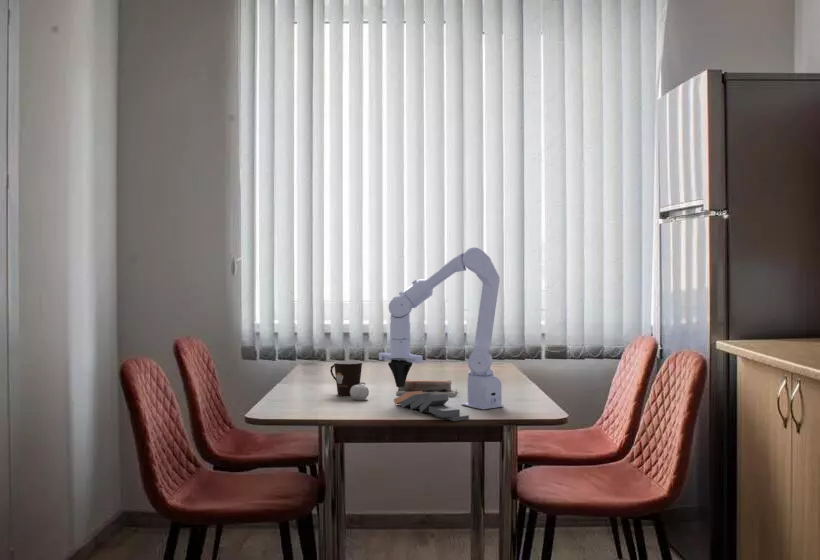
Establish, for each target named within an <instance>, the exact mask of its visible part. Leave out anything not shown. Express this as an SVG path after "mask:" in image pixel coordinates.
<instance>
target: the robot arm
mask: <svg viewBox="0 0 820 560" xmlns="http://www.w3.org/2000/svg"><path fill="white" fill-rule="evenodd" d="M467 269H468V270H470V272H472V273H474V274H475V275H476V277H477V278H478V279H479V280H480V281H481V282H482V286H481V287H482V288H481V294H480V303H479V308H478V317H477V321H476V322H477V325H476V332H475V337H474V338H475V339H474V343H473V348H472V349H473V350H472V353H471V354H470V356H469V357H468V360H467V364H468V368H469V371H467V402H461V403H460V405H461V406H465V407H470V408H475V409H478V410H489V409H494V408H502V407H505V406H504V404H502V402H503V401H502V382H501V380H500V379H499V378H498V377H497V376H495V375H494V371H493V370H492V367H491V366H492V363H493V356H492V354H491V346H492V338H493V332H494V331H493V330H494V323H495V318H496V317H495V316H496V310H497V309H496V308H497V302H498V295H499V287H500V281H501V280H500V275H499V273H498V272H497V268H495V265H494V263H493V261H492V259H491V257H490V256H489V255H488V254H487V253H486V252H485V251H484V250H482V249H481V248H478V247H470V248H468V249H467V250H465V252H461V253H460V254H458V255H456V256H455V257H453V258H451V259H450V260H449V261H447V263H445V264H444V265H443V266H442V267H440V268H439V269H438V270H437V271H436V272H434V273H433V274H432V275H430V276H429V277H428V278H427V279H423V278H419V279H418V280H416V279H414V280H413V281H412V282H411V285H410V286H409V287H408V288H406V289H405V290H404V291H400V292H399V296H398V295H397V296H394V297H393V298H392V299H391V300H390V302H389V304H388V311H389V313H390V318H389V319H390V323H389V344H390V345H389V352H378V360H380V361H390V362H387V364H388V365H387V366H388V367H389V369H390V370H391V373H392V375H393V378H394V382H395V386H396V388H398V387H404V386H405V381H406V379H407V377H408V375H409V371H410V369H411V367H412V366H413V363H415V364H422V363H423V360H424V359H423V355H418V354H413V353H411V322H410V320H411V319H410V314H411V312H412V310H413V309H416V308H417V307H418V306H420V305H421V304H423V303H424V302H425V301H426V300H428V299H429V298H431V297H432V296H433V292H434V289H435V288H436V287H437V286H439V285H440V284H441V283H442V282H444V281H446V280H447V279H448V278H450V277H451V276H452V275H454V274H456V273H459V272H465V271H467Z"/></svg>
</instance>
